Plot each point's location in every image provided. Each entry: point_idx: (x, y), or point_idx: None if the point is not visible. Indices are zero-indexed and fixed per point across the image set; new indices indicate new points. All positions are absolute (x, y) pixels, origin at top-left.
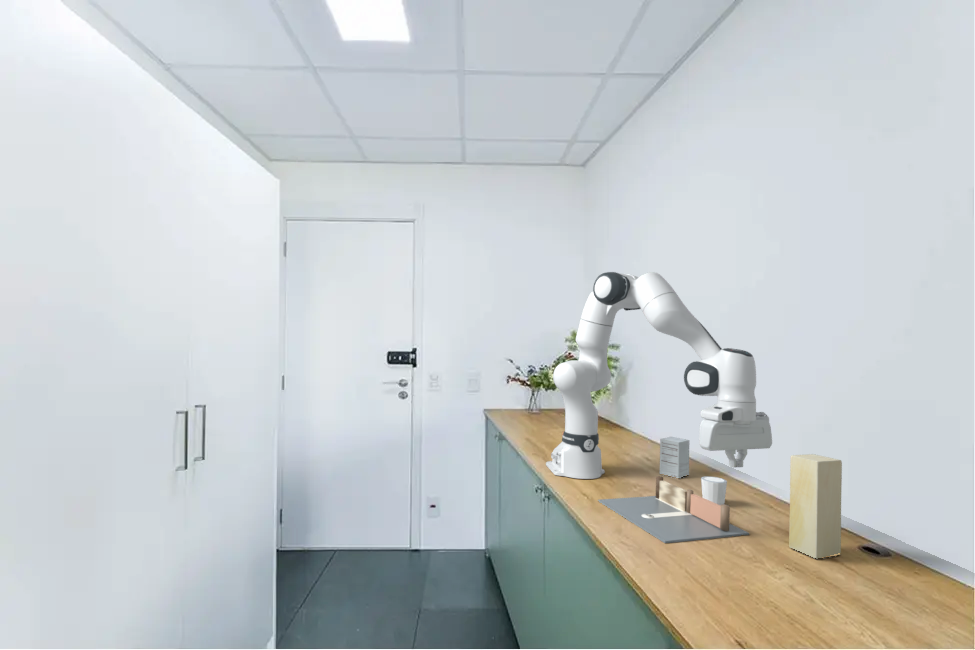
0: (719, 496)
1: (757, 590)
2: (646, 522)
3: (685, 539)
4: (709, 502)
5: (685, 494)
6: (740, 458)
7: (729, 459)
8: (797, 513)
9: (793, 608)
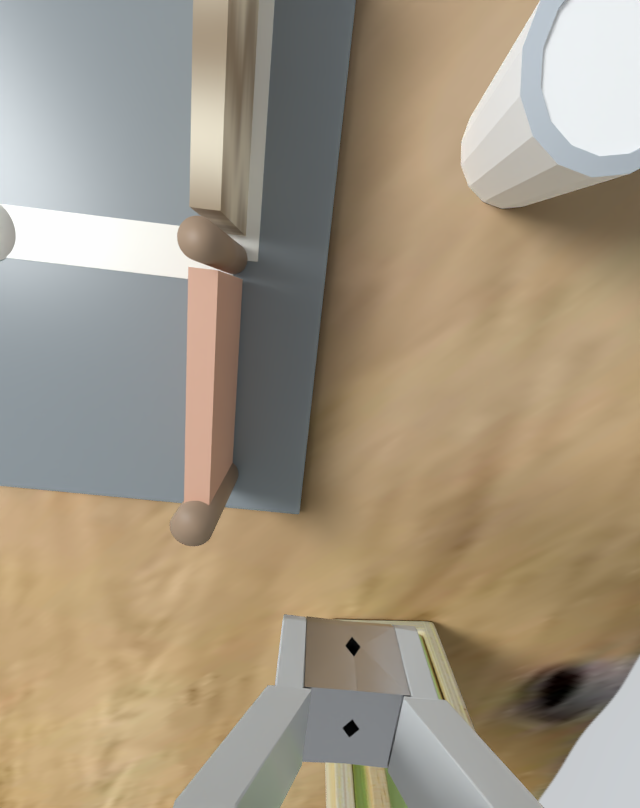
0: (519, 194)
1: (14, 735)
2: None
3: (8, 485)
4: (187, 426)
5: (198, 211)
6: (406, 776)
7: (265, 701)
8: (331, 782)
9: (35, 794)
